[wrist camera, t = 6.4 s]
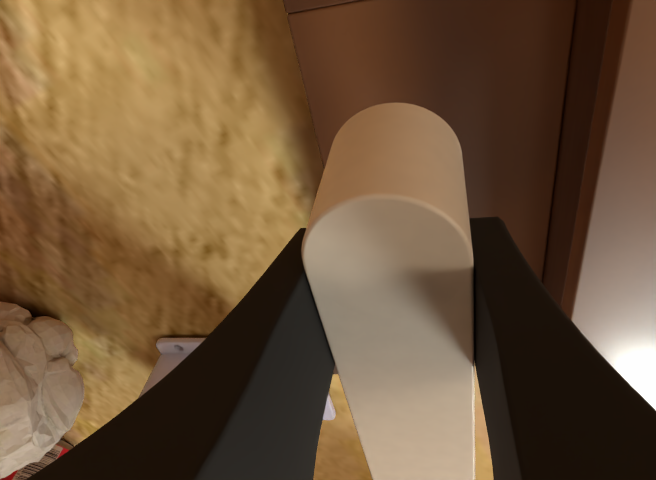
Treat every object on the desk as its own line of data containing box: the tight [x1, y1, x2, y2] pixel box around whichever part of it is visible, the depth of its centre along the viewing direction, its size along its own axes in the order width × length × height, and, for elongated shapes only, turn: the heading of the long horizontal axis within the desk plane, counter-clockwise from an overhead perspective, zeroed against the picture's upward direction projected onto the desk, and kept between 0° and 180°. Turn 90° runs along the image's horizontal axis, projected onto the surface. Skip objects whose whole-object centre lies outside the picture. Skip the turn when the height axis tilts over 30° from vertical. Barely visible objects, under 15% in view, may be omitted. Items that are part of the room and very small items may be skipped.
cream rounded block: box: [301, 103, 475, 480], centre depth 12 cm, size 6×13×3 cm, turn 11°
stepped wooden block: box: [283, 0, 656, 409], centre depth 15 cm, size 15×16×5 cm
